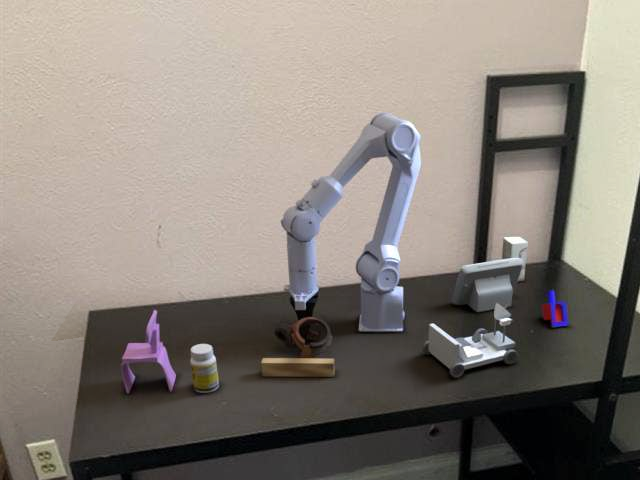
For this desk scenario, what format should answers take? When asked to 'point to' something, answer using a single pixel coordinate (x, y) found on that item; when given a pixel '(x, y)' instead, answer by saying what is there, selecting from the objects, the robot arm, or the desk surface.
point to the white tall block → (515, 251)
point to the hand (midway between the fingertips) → (305, 327)
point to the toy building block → (555, 311)
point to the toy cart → (472, 346)
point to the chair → (147, 355)
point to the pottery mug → (304, 336)
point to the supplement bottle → (204, 368)
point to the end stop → (298, 367)
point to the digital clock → (487, 284)
